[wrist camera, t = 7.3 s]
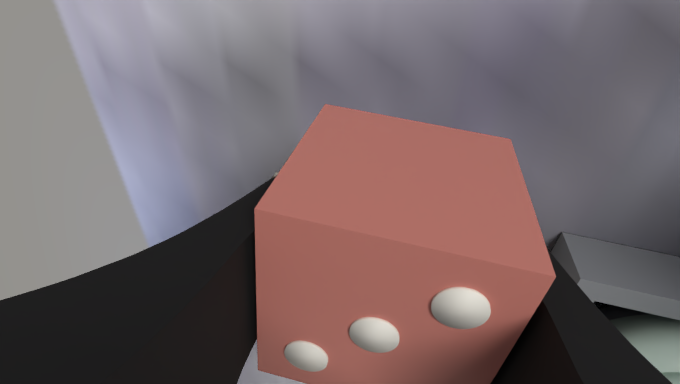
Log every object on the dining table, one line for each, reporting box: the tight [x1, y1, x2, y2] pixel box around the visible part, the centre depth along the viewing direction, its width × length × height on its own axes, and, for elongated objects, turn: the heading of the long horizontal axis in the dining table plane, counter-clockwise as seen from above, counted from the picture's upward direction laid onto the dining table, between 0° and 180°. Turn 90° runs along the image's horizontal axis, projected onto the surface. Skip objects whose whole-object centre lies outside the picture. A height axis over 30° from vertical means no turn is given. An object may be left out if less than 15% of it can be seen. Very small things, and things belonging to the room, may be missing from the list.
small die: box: [254, 104, 556, 384], centre depth 9 cm, size 4×4×5 cm
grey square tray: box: [551, 232, 680, 320], centre depth 20 cm, size 12×12×3 cm
